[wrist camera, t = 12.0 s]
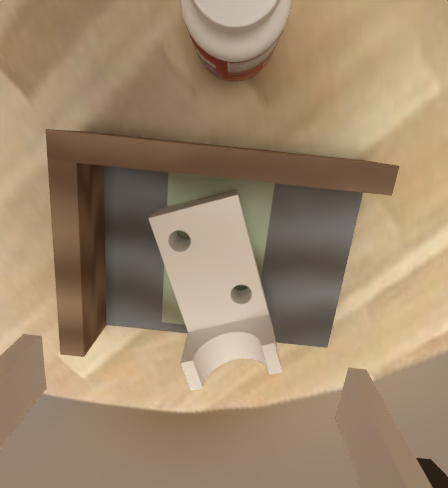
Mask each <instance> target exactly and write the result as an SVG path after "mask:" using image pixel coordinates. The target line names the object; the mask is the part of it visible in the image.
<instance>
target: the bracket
mask: <svg viewBox="0 0 448 488" xmlns="http://www.w3.org/2000/svg"><path fill="white" fill-rule="evenodd" d="M148 219H149V222H150V225H151V228H152V230H153V233H154V236H155V239H156V242H157V245H158V248H159V251H160V253H161V256H162V259H163V262H164V265H165V268H166V271H167V273H168V276H169V279H170V282H171V285H172V288H173V291H174V294H175V296H176V299H177V302H178V305H179V308H180V311H181V314H182V316H183V319H184V322H185V325H186V328H187V331H188V335H187V339H186V343H185V347H184V352H183V356H182V360H181V365H182V368H183V370H184V373H185V376H186V379H187V381H188V384H189V387H190V389H191V391H192V390H197V389H202V388H203V385H204V382H205V380H206V378H207V377H208V376H209V374H210V373H211V372H212V371H213V370H215V369H216V368H217V367H219V366H220V365H222V364H224V363H226V362H229V361H232V360H236V359H253V360H257V361H259V362H261V363H262V364H264V365H265V366H266V368H267V369H268V371H269V375H271V374H276V373H281V372H282V370H281V365H280V360H279V355H278V350H277V345H276V341H275V336H274V331H273V326H272V322H271V318H270V314H269V310H268V306H267V302H266V298H265V295H264V291H263V287H262V283H261V279H260V275H259V271H258V268H257V264H256V260H255V256H254V252H253V248H252V244H251V240H250V237H249V233H248V229H247V225H246V221H245V217H244V213H243V210H242V206H241V202H240V198H239V194H238V190H234V191H230V192H227V193H223V194H219V195H215V196H212V197H208V198H204V199H200V200H198V199H194V200H191V201H187V202H183V203H179V204H176V205H172V206H168V207H164V208H161V209H158V210H157V211H156V212H155V213H154V214H153V215H152V216H150V217H149V218H148ZM177 230H181V231H184V232H186V233H187V234H188V235H189V237H190V238H189V239H183V238H181V237H180V236H179V235H178V234H177V232H176V231H177ZM237 285H246V286H248V288H247V289H245V290H236V289H235V288H234V287H235V286H237Z"/></svg>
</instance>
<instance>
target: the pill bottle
mask: <svg viewBox="0 0 448 488" xmlns="http://www.w3.org/2000/svg"><path fill="white" fill-rule="evenodd" d="M180 3H181V10H182V14H183V18H184V21H185V24H186V27H187V29H188V32H189V34H190V37H191V39H192V41H193V44H194V46H195V48H196V50H197V53H198V55H199V57H200V59H201V61H202V62H203V64H204V65H205V66H206V67H207V69H208V70H209V71H210V72H212V73H213V74H214V75H216V76H217V77H219V78H222V79H225V80H229V81H240V80H244V79H247V78H250V77H252V76H253V75H255V74H256V73H258V72H259V71H260V70H261V69H262V68H263V67H264V66H265V64H266V63H267V61H268V60H269V58H270V56H271V54H272V52H273V50H274V48H275V46H276V44H277V42H278V39H279V37H280V35H281V33H282V31H283V29H284V27H285V24H286V22H287V19H288V16H289V13H290V9H291V3H292V0H180Z"/></svg>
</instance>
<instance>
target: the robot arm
mask: <svg viewBox="0 0 448 488" xmlns="http://www.w3.org/2000/svg"><path fill="white" fill-rule="evenodd" d="M45 389H46V379H45V368H44V357H43V346H42V336H37V335H27V334H23V335H22V336H21V337H20V338H19V339H18V340H17V341H16V342H15V343H14V344H13V345H11V346H10V347H9V348H8V349H7V350H6V351H5V352H4V353H3V354H2V355H1V356H0V449H1V448H2V446H3V445H4V444H5V443H6V441H7V440H8V438H9V437H10V436H11V435H12V433H13V432H14V431H15V429H16V428H17V427H18V425H19V424H20V422H21V421H22V420H23V419H24V417H25V416H26V415H27V413H28V412H29V411H30V409H31V408H32V407H33V405H34V404H35V403H36V401H37V400H38V398H39V397H40V396H41V395H42V393H43V392H44V391H45ZM335 419H336V422H337V425H338V427H339V430H340V433H341V436H342V439H343V442H344V444H345V447H346V450H347V453H348V456H349V459H350V461H351V464H352V467H353V470H354V472H355V476H356V478H357V481H358V484H359V487H360V488H448V477H447V476H446V474H445V473H444V472H443V471H442V470H441V469H440V468H439V467H437V465H436V464H435V463H434V462H433V461H432V460H431V459H422V458H416V457H415V455H414V454H413V452H412V450H411V448H410V447H409V445H408V443H407V441H406V440H405V438H404V436H403V434H402V432H401V431H400V429H399V427H398V425H397V423H396V422H395V420H394V418H393V416H392V415H391V413H390V411H389V409H388V408H387V406H386V404H385V402H384V400H383V399H382V397H381V395H380V393H379V392H378V390H377V388H376V386H375V384H374V383H373V381H372V379H371V377H370V375H369V374H368V372H367V370H365V369H355V368H348V371H347V375H346V379H345V382H344V386H343V390H342V394H341V398H340V401H339V405H338V409H337V412H336V416H335Z"/></svg>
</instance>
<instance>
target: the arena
mask: <svg viewBox="0 0 448 488" xmlns="http://www.w3.org/2000/svg"><path fill="white" fill-rule="evenodd" d="M46 141H47V157H48V172H49V187H50V202H51V218H52V233H53V248H54V263H55V278H56V294H57V309H58V324H59V339H60V354H62V355H72V356H81V357H84V356H85V355H86V353H87V352H88V350H89V349H90V348H91V346H92V345H93V343H94V342H95V340H96V339H97V337H98V336H99V335H100V333H101V332H102V330H103V329H104V327H105V326H106V325H114V326H123V327H133V328H143V329H152V330H162V331H172V332H181V333H188V331H187V328H186V325H185V322H184V319H183V316H182V314H181V311H180V308H179V305H178V302H177V299H176V296H175V294H174V291H173V288H172V285H171V282H170V279H169V276H168V273H167V271H166V268H165V265H164V262H163V259H162V256H161V253H160V251H159V248H158V245H157V242H156V239H155V236H154V233H153V230H152V228H151V225H150V222H149V219H148V218H149V217H150V216H152V215H153V214H154V213H155V212H156V211H157V210H158V209H161V208H164V207H168V206H172V205H176V204H179V203H183V202H187V201H191V200H194V199H198V200H200V199H204V198H208V197H212V196H215V195H219V194H223V193H227V192H230V191H234V190H238V194H239V198H240V202H241V206H242V210H243V213H244V217H245V221H246V225H247V229H248V233H249V237H250V240H251V244H252V248H253V252H254V256H255V260H256V264H257V268H258V271H259V275H260V279H261V283H262V287H263V291H264V295H265V298H266V302H267V306H268V310H269V314H270V318H271V322H272V326H273V331H274V336H275V341H276V342H278V343H288V344H298V345H307V346H317V347H327V346H328V342H329V338H330V333H331V329H332V325H333V320H334V316H335V312H336V307H337V303H338V299H339V294H340V290H341V286H342V281H343V277H344V272H345V268H346V264H347V259H348V255H349V251H350V246H351V242H352V238H353V233H354V229H355V225H356V220H357V216H358V212H359V207H360V203H361V198H362V194H363V192H364V193H373V194H383V195H392V193H393V189H394V185H395V181H396V177H397V173H398V169H399V166H396V165H390V164H383V163H377V162H371V161H364V160H354V159H344V158H335V157H325V156H316V155H306V154H296V153H287V152H277V151H267V150H258V149H248V148H238V147H229V146H219V145H209V144H200V143H190V142H181V141H171V140H161V139H152V138H142V137H132V136H123V135H113V134H103V133H94V132H84V131H66V130H48V129H46ZM176 232H177V234H178V235H179V236H180V237H181V238H183V239H189V238H190V237H189V235H188V234H187V233H186V232H184V231H181V230H177V231H176ZM234 288H235V289H236V290H245V289H247V288H248V286H246V285H237V286H235V287H234Z"/></svg>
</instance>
